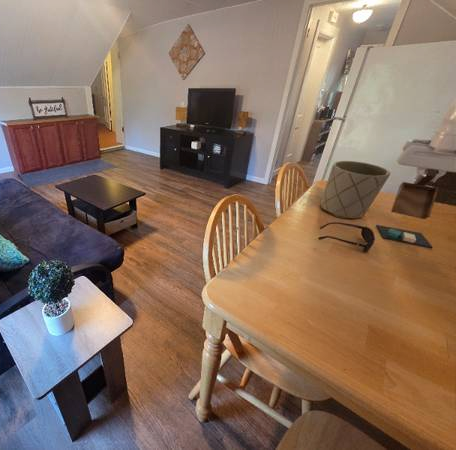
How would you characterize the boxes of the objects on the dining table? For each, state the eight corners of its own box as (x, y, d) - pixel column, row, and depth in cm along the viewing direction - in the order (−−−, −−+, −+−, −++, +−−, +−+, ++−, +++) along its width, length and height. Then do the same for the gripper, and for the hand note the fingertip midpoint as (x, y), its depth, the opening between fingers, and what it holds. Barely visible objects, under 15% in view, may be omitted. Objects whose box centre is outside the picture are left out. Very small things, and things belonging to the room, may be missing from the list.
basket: (401, 179, 98) (414, 167, 90) (435, 185, 93) (452, 173, 85) (390, 212, 97) (402, 202, 88) (425, 219, 92) (441, 210, 83)
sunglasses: (371, 257, 82) (378, 245, 80) (317, 242, 89) (322, 231, 87) (367, 238, 92) (373, 226, 89) (319, 226, 99) (323, 215, 96)
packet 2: (405, 237, 89) (403, 240, 90) (416, 239, 88) (413, 243, 88) (403, 232, 92) (401, 235, 93) (414, 234, 90) (412, 238, 91)
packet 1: (388, 231, 92) (386, 234, 93) (398, 235, 90) (396, 238, 91) (392, 228, 94) (389, 231, 95) (401, 231, 92) (399, 235, 93)
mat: (420, 234, 94) (421, 232, 94) (431, 248, 87) (432, 247, 86) (376, 225, 99) (376, 224, 99) (383, 238, 92) (383, 237, 91)
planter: (308, 201, 118) (323, 161, 107) (346, 200, 119) (365, 160, 108) (334, 222, 102) (355, 176, 91) (378, 221, 102) (404, 176, 92)
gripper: (409, 139, 86) (389, 177, 94) (495, 148, 76) (465, 189, 84) (406, 136, 91) (388, 172, 98) (488, 144, 81) (460, 183, 88)
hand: (424, 180), depth 91 cm, fingers closed on basket, 2 cm apart
